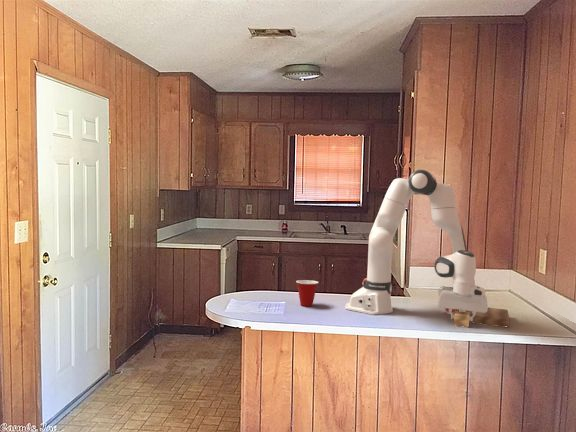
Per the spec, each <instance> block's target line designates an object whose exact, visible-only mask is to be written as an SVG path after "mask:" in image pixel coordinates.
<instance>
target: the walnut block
mask: <svg viewBox="0 0 576 432" xmlns="http://www.w3.org/2000/svg"><path fill="white" fill-rule="evenodd" d="M464 312H468V313H470V316H472V315H473V314H472V312H473V311H465V310H464ZM469 322H472V321H469ZM473 322H474V323H473V324H475V323H482V324H481V325H483V324H488V325H487V326H491V325H498V326H507V327H509V328H510V315H509V311H508V309H505V308H497V307H495V308H494V307H489V306H488V311H487V312H486V313H482V312H476V315H475V316H474V317H473ZM498 326H497V327H498Z"/></svg>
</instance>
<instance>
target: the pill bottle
mask: <svg viewBox="0 0 576 432" xmlns="http://www.w3.org/2000/svg"><path fill="white" fill-rule="evenodd" d="M444 309H445V310H444V311H445V312H444V313H445V314H447V315H449V314H450V312H449V308H444ZM455 311H460V310H457V309H452V313H453V314H455ZM450 316H451V314H450Z"/></svg>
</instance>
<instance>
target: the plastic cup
mask: <svg viewBox="0 0 576 432" xmlns="http://www.w3.org/2000/svg"><path fill="white" fill-rule="evenodd" d="M295 282H296V284H297V290H298V297H299V303H300V304H299V305H300V306H301V307H307V308H308V307H313V304H314V299H315V296H316V291H317V287H318V284H319V281H316V280H312V279H311V280H308V279H306V280H305V279H302V280H301V279H300V280H298V279H297V280H296V281H295Z"/></svg>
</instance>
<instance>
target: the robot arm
mask: <svg viewBox="0 0 576 432" xmlns="http://www.w3.org/2000/svg"><path fill="white" fill-rule="evenodd" d="M409 175H410V176H409V177H408V179H407V178H403V177H398V178H395V179H393V180H392V182H391V183H390V185H389V186H388V189H387V191H386V193H385V195H384V198H383V200H382V203H381V205H380V207H379V209H378V210H379V211H378V212H377V216H376V218H375V220H374V222H373V225H372V227H371V230H370V232H369V236H368V251H367V272H366V273H367V275H366V278H363V280H362V284H361V285H362V287H360V288H359V289H358V290H356V291H355V292H353V293H352V294H351V296H350V299H349V302H347V303H345V305H344V309H345V310H348V311H353V312H358V313H363V314H367V315H368V314H369V315H382V314H384V315H385V314H389V313H392V312H394V309H393V305H392V299H391V297H392V296H391V293H392V290H393V289H392V287H393V285H392V280H391V279H392V263H393V262H392V261H393V251H394V237H395V235H396V232H397V231H398V228H399V226H400V224H401V222H402V220H403V217H404V214H405V212H406V209H407V207H408V204H409V202H410V199H411V198H412V196H414V195H423V196H427V197H428V199H429V204H430V207H429V208H430V217H431V220H432V223H433V224H434V225H435V226H436V227H437V228H438V229H441V230H443V231H444V232H446V233H447V234H448V236H449V238H450V243H451V249H452V254H447V255H442V256H440V257H438V258H436V259H435V261H434V266H433V267H434V272H435V273H436V275H437V276H439V277H441V278H445V279H446V278H452V279H453V281H452V282H453V284H452V287H451V286H443V285H442V286H440V287H438V290H437V291H438V292H437V294H438V296H439V297H438V304H437V305H438V307H439V308H442V309H445V308H449V312H450V314H451V315H450V320H454V314H453V313H452V309H457V310H459V311H464V312H465V311H473V312H472V314H473V315H472V316H469V321H472V322H473V317H474V316H475V315H476V312H482V313H486V312H487V311H488V307H489V305H488V298H487V295H486V289H485V288H483V287H481V286H478V285H476V281H475V276H476V271H477V270H476V268H477V261H476V260H477V259H476V256H475V254H474V253H473V252H472V251H468V250H467V244H466V240H465V234H464V229H463V225H462V223H461V222H460V219H459V215H458V211H457V201H456V196H455V191H454V189H453V187H452V185H450V184H447V183H438V182H437V179H436V177H435V176H434V174H433V173H432V172H431V171H429V170H425V169H417V170H414V171H413V172H412V173H411V174H409Z"/></svg>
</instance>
